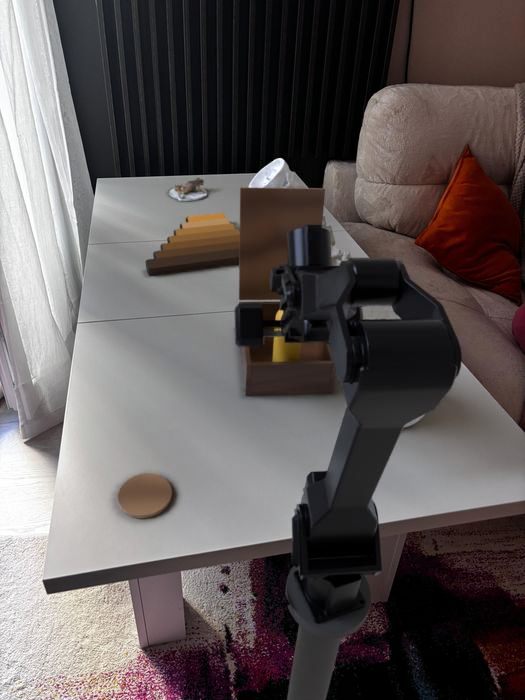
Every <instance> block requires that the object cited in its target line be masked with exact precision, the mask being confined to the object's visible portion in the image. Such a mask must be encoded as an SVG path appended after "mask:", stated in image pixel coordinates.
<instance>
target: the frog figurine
mask: <svg viewBox="0 0 525 700" xmlns="http://www.w3.org/2000/svg"><path fill="white" fill-rule="evenodd" d="M204 183H205V180H204V179H202V178H199V177H197V178H196V179H193V180H188V181H187V182H186V184H185V185H183V184H177V185H176V184H174V187H173V188H172V189H170V191H169V192H168V194H169V196H170V197H172V198H174V199H176V200H178V201H179V202H193V201H200V200H202V199H205V198H206V197H207V195H208V191H207V190H206V189H204V188H201V187H200V186H204Z"/></svg>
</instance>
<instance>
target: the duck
mask: <svg viewBox="0 0 525 700" xmlns="http://www.w3.org/2000/svg"><path fill="white" fill-rule="evenodd" d="M282 314H283V311H280V310H279V311H278V312H277V314H276V319H275V320H281V317H282ZM275 330H277V331H278V330H280V331H281V329H275ZM300 351H301V343H285V342H284V337H274V346H273V360H272V362H291V361H299V360H300Z"/></svg>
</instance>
